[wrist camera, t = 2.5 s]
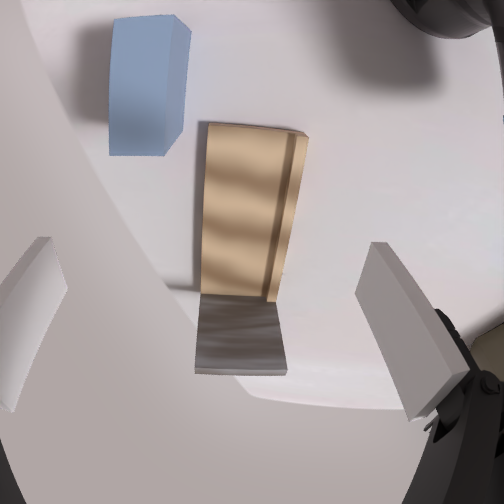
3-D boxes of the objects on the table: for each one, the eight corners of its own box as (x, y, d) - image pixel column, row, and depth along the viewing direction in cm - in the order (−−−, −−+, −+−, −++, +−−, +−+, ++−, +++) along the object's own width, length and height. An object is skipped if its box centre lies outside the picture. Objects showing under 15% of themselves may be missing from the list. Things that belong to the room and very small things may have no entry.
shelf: (209, 122, 30) (195, 158, 18) (303, 132, 31) (346, 173, 20) (201, 292, 42) (194, 373, 31) (272, 296, 43) (285, 375, 32)
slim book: (148, 32, 23) (114, 19, 15) (191, 31, 24) (174, 14, 16) (142, 129, 29) (109, 155, 21) (183, 130, 30) (163, 156, 22)
